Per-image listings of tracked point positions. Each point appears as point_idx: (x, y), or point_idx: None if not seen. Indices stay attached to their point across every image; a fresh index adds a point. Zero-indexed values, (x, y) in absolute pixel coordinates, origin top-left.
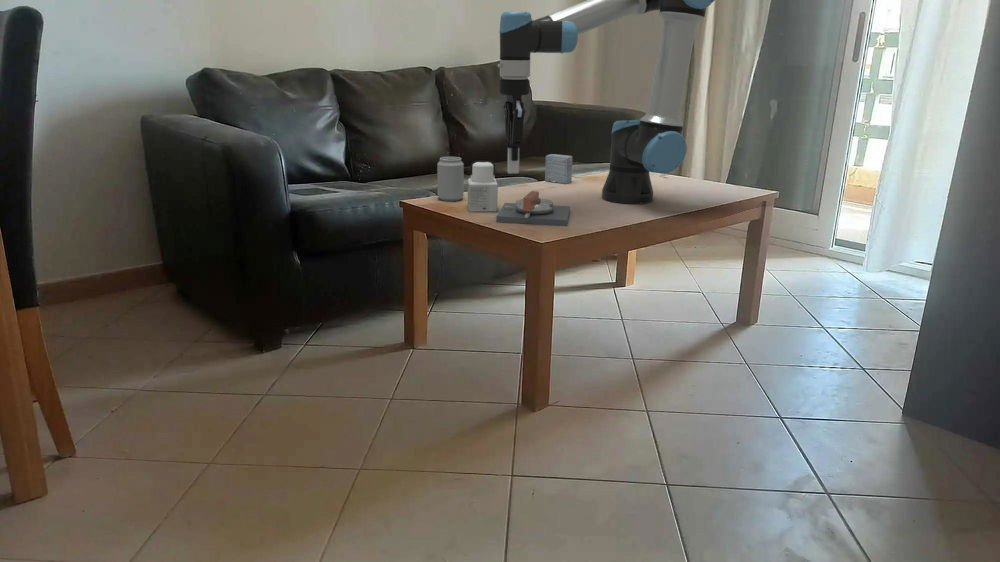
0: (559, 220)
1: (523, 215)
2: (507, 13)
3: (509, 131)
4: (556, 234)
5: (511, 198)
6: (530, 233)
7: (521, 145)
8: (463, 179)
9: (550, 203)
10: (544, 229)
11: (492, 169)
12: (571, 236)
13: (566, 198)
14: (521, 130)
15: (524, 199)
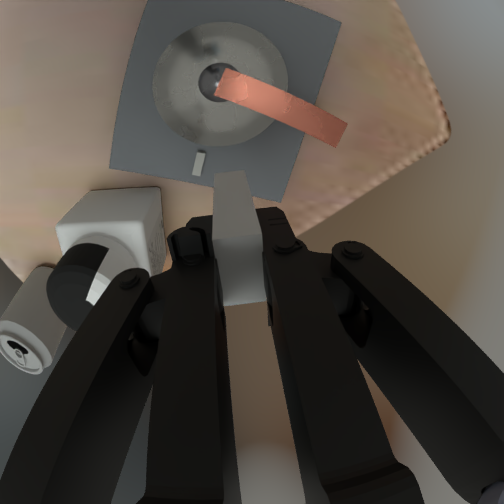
0: (335, 39)
1: (278, 126)
2: None
3: (230, 400)
4: (405, 80)
5: (13, 150)
6: (390, 135)
7: (362, 244)
8: (26, 292)
9: (237, 33)
10: (363, 90)
11: (107, 267)
12: (421, 57)
13: (13, 12)
14: (458, 341)
15: (335, 143)
